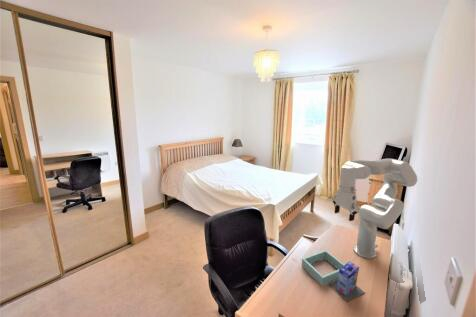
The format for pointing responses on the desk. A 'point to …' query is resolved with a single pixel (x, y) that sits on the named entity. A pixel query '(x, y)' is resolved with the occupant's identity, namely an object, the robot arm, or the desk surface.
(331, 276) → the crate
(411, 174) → the robot arm
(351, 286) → the ink cartridge box
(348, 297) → the mat
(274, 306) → the desk surface
